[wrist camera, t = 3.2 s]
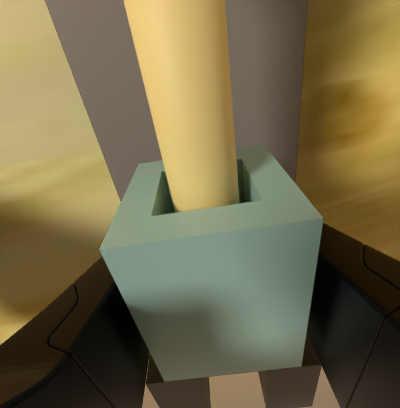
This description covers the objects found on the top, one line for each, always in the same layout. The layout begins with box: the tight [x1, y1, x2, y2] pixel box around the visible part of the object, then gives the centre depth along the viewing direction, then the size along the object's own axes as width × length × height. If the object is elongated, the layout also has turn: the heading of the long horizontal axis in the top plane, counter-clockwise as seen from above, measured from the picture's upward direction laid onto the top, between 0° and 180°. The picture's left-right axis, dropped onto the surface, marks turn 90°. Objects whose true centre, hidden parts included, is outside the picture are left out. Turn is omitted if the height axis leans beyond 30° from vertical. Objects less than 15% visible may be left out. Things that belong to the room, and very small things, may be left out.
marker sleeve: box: [99, 145, 324, 382], centre depth 7 cm, size 5×4×4 cm
